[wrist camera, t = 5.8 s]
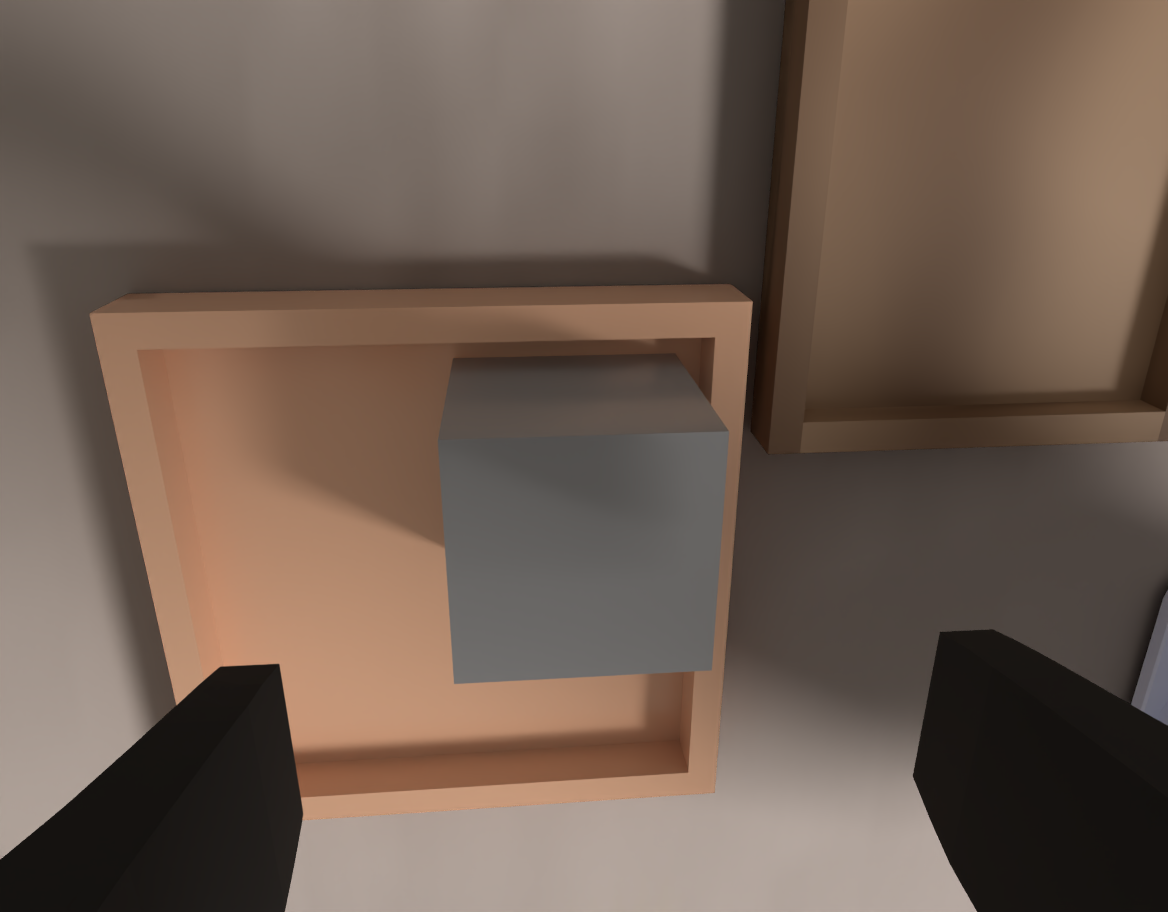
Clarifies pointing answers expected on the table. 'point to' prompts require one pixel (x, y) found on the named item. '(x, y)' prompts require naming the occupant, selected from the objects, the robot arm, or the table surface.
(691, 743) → the terracotta dish
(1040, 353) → the walnut tray
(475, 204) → the table surface
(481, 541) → the slate gray cube
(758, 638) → the table surface
